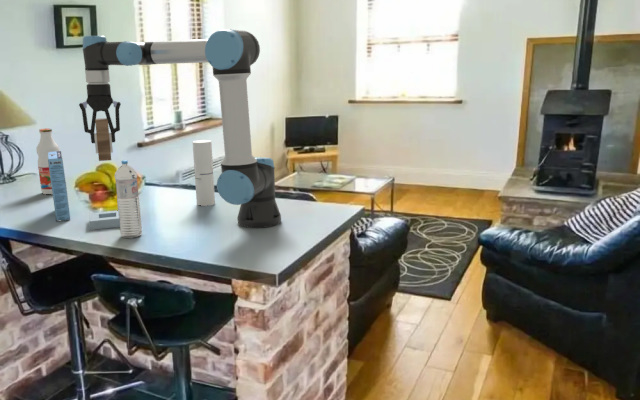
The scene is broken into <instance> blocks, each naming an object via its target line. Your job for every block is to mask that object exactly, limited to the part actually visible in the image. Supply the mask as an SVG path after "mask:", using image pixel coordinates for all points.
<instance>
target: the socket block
mask: <svg viewBox="0 0 640 400" xmlns="http://www.w3.org/2000/svg"><path fill="white" fill-rule="evenodd" d="M88 222H89V223H88V225H89V230H91V231H92V229H93V230H100V229H101V230H102V229H110V228H120V224H119V223H120V222H119V214H118V211H117V210H108V211H107V212H106V211H100V212H99V211H96V212H89V219H88Z"/></svg>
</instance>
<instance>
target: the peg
mask: <svg viewBox="0 0 640 400" xmlns="http://www.w3.org/2000/svg"><path fill="white" fill-rule="evenodd" d="M109 129H110V127H109V124H108V119H107V117H105V118H104V117H102V118H96V120H95V131H96V132H95V133H96V134H97V145H98V153H97V154H98V161H99V162H104V161H105V162H106V161H112V153H111V151H110V139H109V133H110V130H109Z"/></svg>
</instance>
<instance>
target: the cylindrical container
mask: <svg viewBox="0 0 640 400" xmlns="http://www.w3.org/2000/svg"><path fill="white" fill-rule="evenodd" d="M212 145H213V144H212V140H211V139H209V140H207V139H200V140H199V139H198V140H193V141H192V152H193V154H192V155H193V166H194V169H193V170H194V180H195V181H194V182H195V196H196V198H195V199H196V206H198V205H201V206H200V207H208V206H207V205H211V206H214V205H215V204H216V196H215V195H216V194H215V182H214V181H215V180H214V179H215V177H214V163H213V149H212V148H213V147H212ZM213 204H214V205H213Z"/></svg>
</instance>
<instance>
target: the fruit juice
mask: <svg viewBox="0 0 640 400" xmlns="http://www.w3.org/2000/svg"><path fill="white" fill-rule="evenodd" d="M38 132H39V134H40V139H39V141H38V144H37V146H36V149H35V151H36V154H37V157H38V159H37V169H38V176H39V183H40V190H41V194H42V193H43V195H46V194H51V195H53V194H52V186H51V179H50V172H49V164H48V152H55V151H60V146H59V144H58V143H56V141H55V139H54V137H53V135H52V133H53V129H52V128H40V129H39V130H38Z"/></svg>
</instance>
